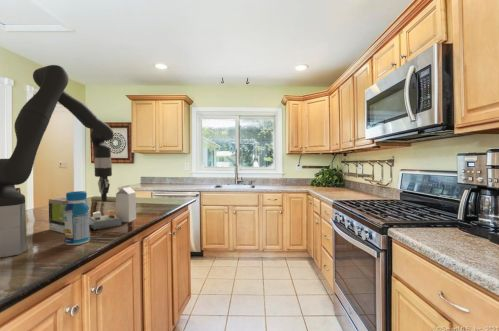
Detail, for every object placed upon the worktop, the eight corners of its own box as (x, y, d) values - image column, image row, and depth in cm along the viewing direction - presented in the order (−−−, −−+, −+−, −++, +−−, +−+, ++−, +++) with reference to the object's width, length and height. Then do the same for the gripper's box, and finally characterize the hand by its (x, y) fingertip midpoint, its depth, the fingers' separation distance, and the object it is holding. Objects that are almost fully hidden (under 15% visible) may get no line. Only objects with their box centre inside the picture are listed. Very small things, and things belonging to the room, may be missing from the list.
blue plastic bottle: (84, 244, 101) (83, 193, 101) (60, 246, 99) (59, 193, 99) (93, 238, 109) (92, 190, 109) (70, 239, 108) (69, 191, 107)
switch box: (121, 225, 131) (121, 216, 131) (94, 229, 123) (93, 220, 123) (113, 220, 142) (113, 212, 141) (87, 224, 134) (87, 216, 133)
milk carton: (136, 219, 144) (135, 184, 144) (129, 222, 137) (128, 186, 137) (124, 219, 145) (123, 184, 145) (116, 222, 138) (115, 186, 138)
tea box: (87, 229, 125) (86, 198, 125) (63, 234, 116) (62, 201, 116) (71, 225, 133) (71, 196, 133) (48, 229, 124) (47, 198, 124)
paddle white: (101, 216, 130) (100, 212, 130) (94, 217, 128) (94, 213, 128) (99, 215, 132) (99, 211, 132) (93, 216, 131) (92, 212, 130)
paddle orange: (115, 215, 134) (115, 211, 134) (108, 215, 132) (109, 211, 132) (113, 214, 137) (113, 210, 137) (107, 214, 135) (107, 210, 135)
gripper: (91, 166, 134) (92, 200, 135) (97, 167, 124) (98, 203, 125) (108, 166, 139) (108, 199, 140) (115, 166, 129) (115, 202, 130)
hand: (104, 201), depth 132 cm, fingers closed
